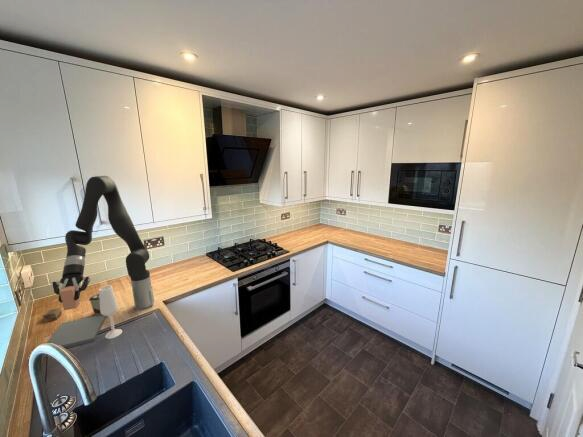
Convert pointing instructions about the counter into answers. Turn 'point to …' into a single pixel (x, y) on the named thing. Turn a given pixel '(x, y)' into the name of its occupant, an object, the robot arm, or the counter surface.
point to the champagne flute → (109, 308)
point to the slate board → (77, 331)
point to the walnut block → (52, 315)
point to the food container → (95, 303)
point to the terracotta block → (69, 298)
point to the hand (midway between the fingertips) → (68, 300)
